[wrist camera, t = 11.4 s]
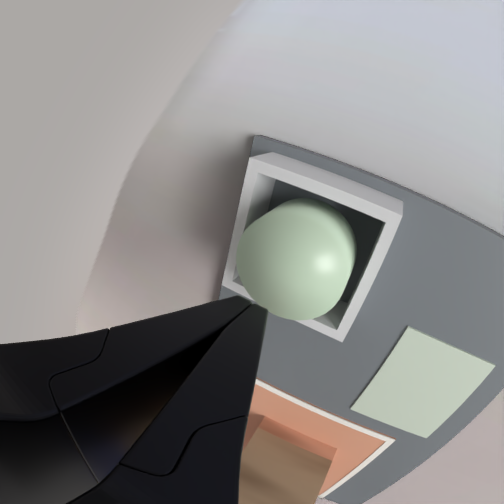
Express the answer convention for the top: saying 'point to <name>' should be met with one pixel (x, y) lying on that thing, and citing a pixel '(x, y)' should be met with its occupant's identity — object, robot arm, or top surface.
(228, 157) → the top surface
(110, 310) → the top surface
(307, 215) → the button
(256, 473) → the stamp
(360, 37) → the top surface
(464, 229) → the picture board
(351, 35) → the top surface
